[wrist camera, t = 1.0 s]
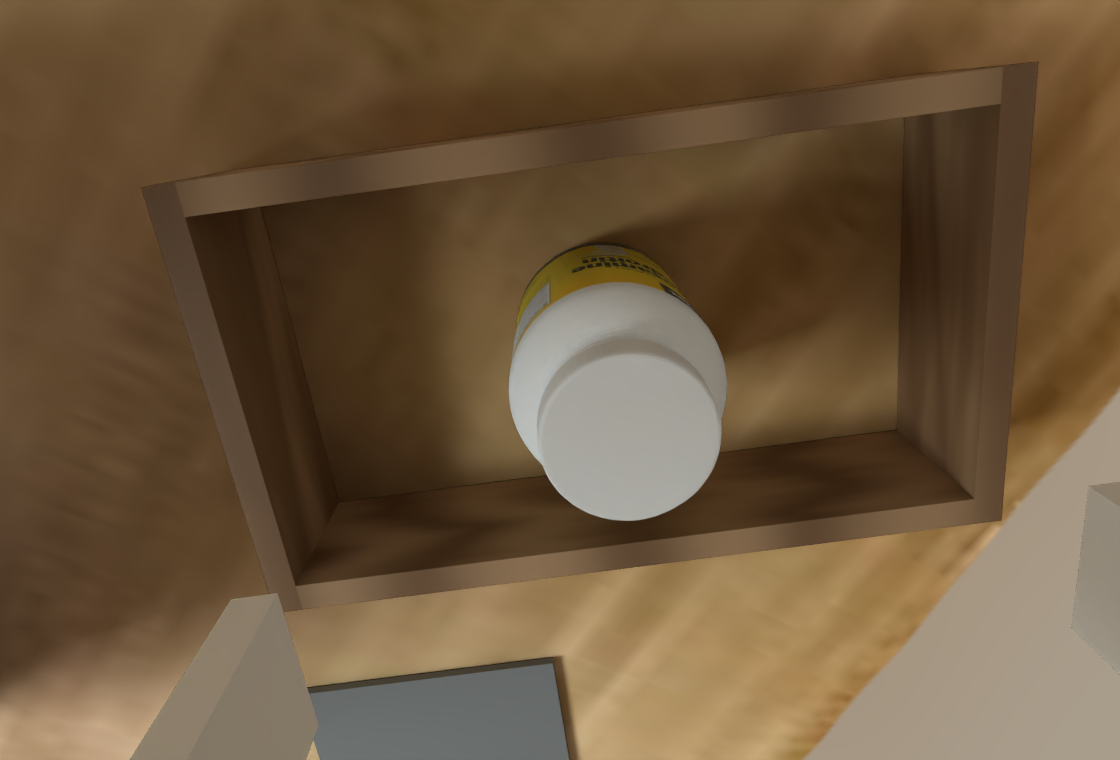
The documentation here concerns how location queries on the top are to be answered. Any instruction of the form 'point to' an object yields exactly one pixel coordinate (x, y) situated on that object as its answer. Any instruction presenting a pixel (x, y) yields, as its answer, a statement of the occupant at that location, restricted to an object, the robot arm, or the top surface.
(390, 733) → the slate mat
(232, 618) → the robot arm
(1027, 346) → the top surface
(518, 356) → the pill bottle
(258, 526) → the box frame
